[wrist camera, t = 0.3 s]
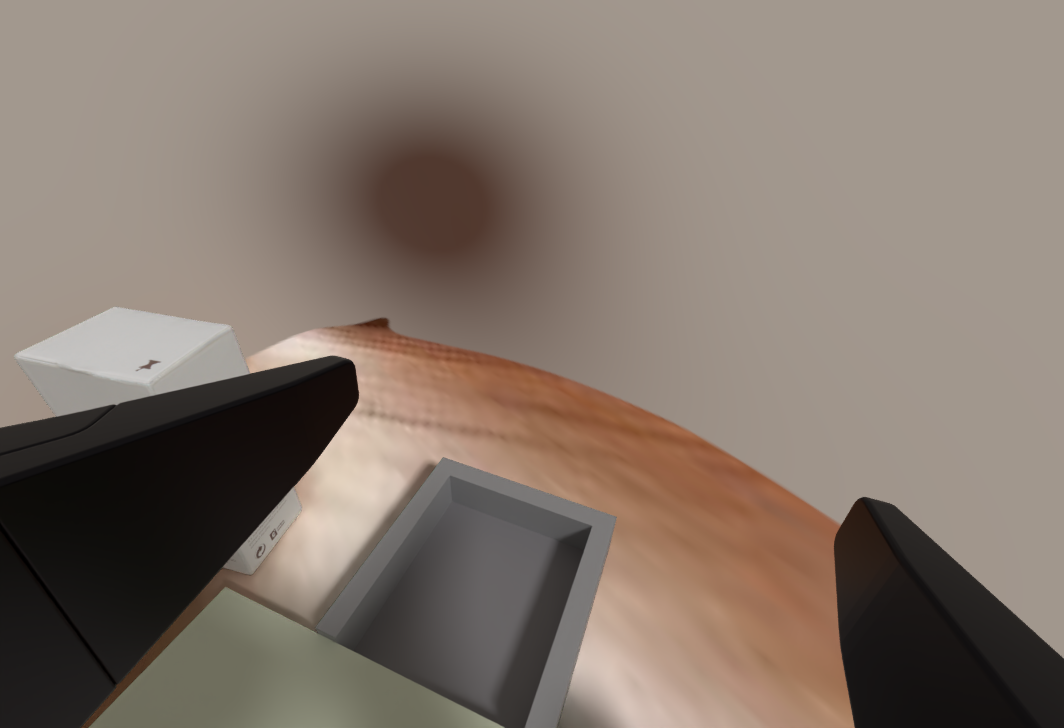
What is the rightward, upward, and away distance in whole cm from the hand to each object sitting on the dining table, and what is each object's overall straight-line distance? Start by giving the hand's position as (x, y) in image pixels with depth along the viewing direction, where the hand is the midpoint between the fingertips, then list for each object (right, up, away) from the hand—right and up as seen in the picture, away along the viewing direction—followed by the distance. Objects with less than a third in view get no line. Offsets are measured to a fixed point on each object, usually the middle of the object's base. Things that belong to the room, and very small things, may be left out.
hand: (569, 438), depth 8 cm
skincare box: (-17, -8, +17) cm, 25 cm away
